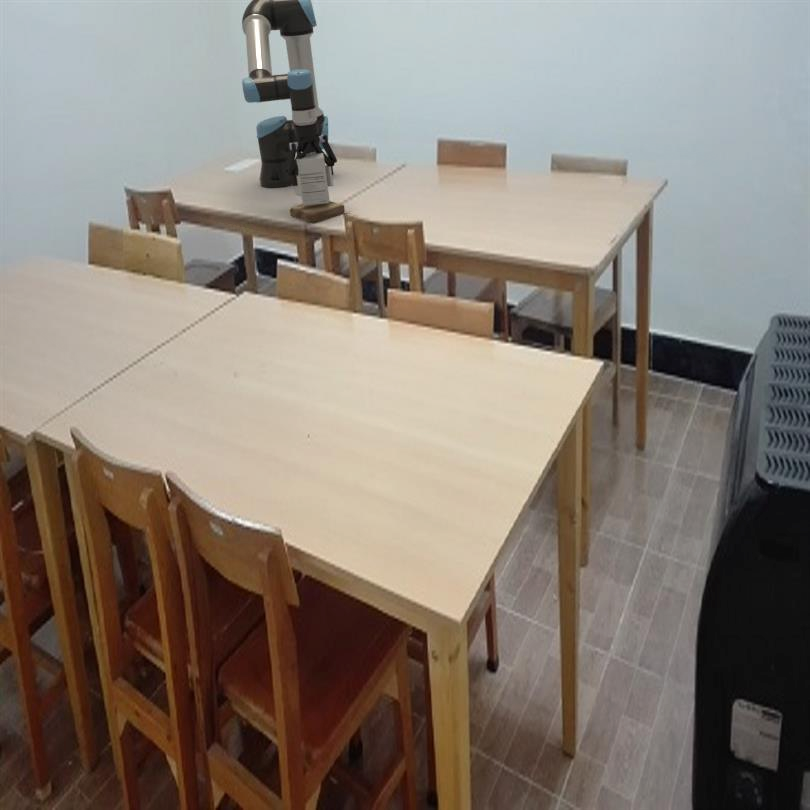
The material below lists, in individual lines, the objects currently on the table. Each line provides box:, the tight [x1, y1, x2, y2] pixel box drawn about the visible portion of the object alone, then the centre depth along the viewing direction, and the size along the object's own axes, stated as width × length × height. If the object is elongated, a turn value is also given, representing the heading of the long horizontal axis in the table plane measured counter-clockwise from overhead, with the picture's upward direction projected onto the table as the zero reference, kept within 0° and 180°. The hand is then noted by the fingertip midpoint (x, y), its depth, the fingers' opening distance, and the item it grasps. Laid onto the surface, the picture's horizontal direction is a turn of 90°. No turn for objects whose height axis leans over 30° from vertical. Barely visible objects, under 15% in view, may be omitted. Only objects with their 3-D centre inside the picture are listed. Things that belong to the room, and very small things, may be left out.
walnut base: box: [289, 200, 346, 224], centre depth 272 cm, size 13×13×3 cm
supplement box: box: [296, 152, 330, 206], centre depth 266 cm, size 9×9×15 cm
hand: (314, 190), depth 268 cm, fingers closed on supplement box, 12 cm apart
